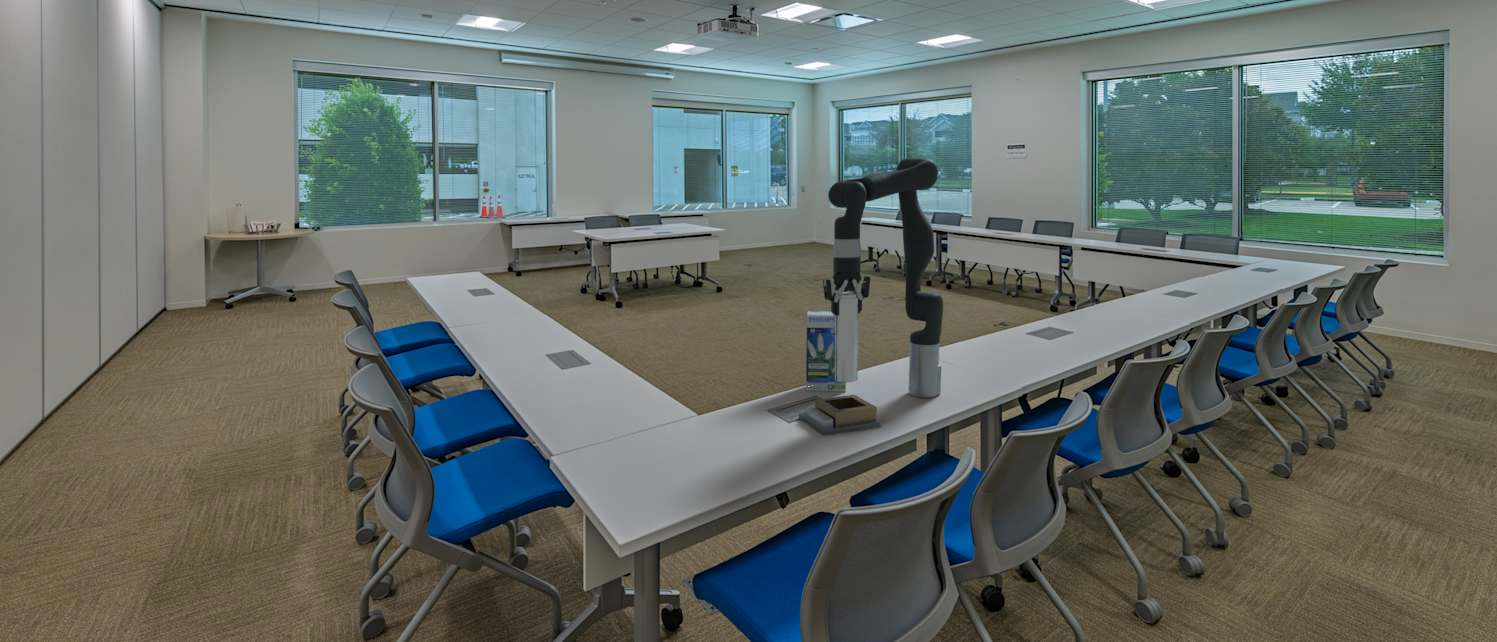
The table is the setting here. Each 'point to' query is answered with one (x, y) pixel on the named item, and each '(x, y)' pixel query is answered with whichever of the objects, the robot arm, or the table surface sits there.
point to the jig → (840, 415)
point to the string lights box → (821, 353)
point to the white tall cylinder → (846, 338)
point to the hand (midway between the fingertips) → (846, 313)
